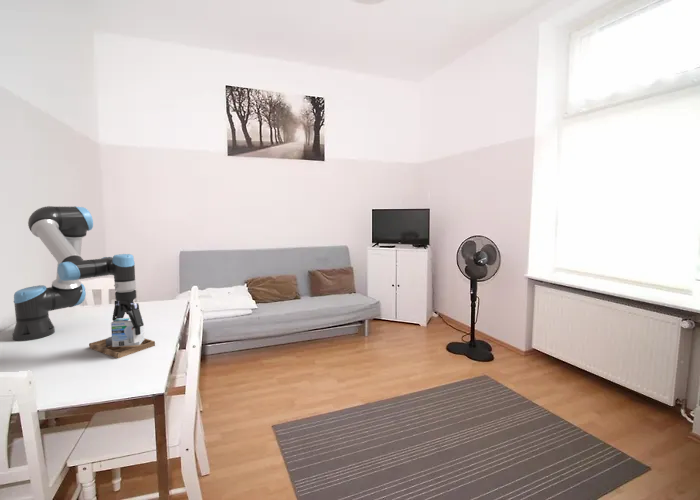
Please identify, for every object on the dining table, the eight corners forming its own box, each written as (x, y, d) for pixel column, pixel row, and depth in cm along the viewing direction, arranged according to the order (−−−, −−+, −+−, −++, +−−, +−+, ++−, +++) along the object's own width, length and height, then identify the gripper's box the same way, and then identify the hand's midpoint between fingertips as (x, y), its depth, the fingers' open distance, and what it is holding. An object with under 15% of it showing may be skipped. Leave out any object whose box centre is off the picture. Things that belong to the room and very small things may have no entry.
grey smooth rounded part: (102, 345, 155) (102, 339, 154) (119, 340, 161) (119, 334, 160) (111, 348, 151) (111, 342, 151) (128, 343, 157) (127, 337, 157)
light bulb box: (111, 347, 146) (110, 322, 145) (117, 341, 152) (116, 318, 151) (140, 345, 149) (138, 320, 148) (145, 339, 155) (143, 316, 154)
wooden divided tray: (89, 348, 152) (88, 343, 152) (126, 337, 166) (126, 332, 165) (118, 359, 141) (117, 353, 141) (155, 346, 155) (154, 341, 155)
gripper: (100, 288, 150) (104, 337, 153) (132, 295, 139) (136, 347, 142) (119, 285, 157) (122, 332, 159) (151, 291, 146) (154, 341, 148)
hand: (128, 339), depth 150 cm, fingers closed on light bulb box, 12 cm apart
